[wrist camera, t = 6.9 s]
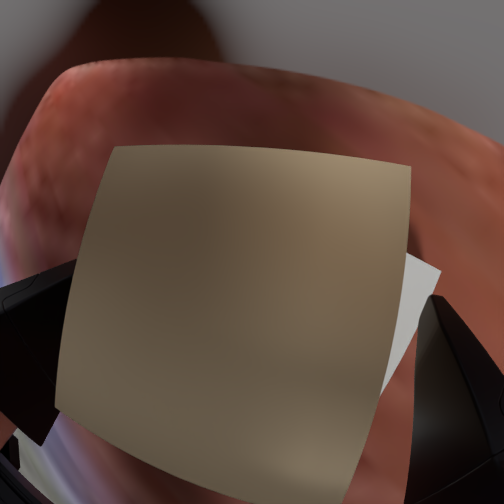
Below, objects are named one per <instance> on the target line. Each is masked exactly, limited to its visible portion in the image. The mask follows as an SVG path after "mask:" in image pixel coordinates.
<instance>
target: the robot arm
mask: <svg viewBox="0 0 504 504" xmlns="http://www.w3.org/2000/svg"><path fill="white" fill-rule="evenodd" d="M76 262H77V259H75V260H72V261H69V262H67V263H64V264H61V265H59V266H56V267H54V268H51V269H49V270H46V271H43V272H41V273H40V274H36V275H33V276H31V277H28V278H26V279H23V280H21V281H18V282H15V283H12V284H10V285H7V286H4V287H1V288H0V504H54V503H52V502H51V501H50V500H49V499H48V498H47V497H45V496H44V495H43V494H42V493H41V492H40V491H39V490H37V489H36V488H35V487H34V486H33V485H32V484H31V483H30V482H29V481H28V480H27V479H26V478H25V477H24V476H23V475H22V474H21V473H20V472H19V471H18V470H19V468H20V459H19V445H18V439H17V438H16V437H15V436H14V435H13V433H14V432H15V430H16V429H17V428H19V429H20V430H21V431H22V432H23V433H24V434H26V435H27V436H28V437H29V438H30V439H31V440H33V441H34V442H35V443H36V444H38V445H39V446H40V447H41V446H42V444H43V443H44V441H45V439H46V437H47V435H48V433H49V431H50V429H51V427H52V426H53V424H54V422H55V420H56V418H57V416H58V414H59V413H60V411H59V410H58V409H57V408H55V394H56V381H57V371H58V361H59V353H60V345H61V338H62V332H63V325H64V319H65V314H66V308H67V303H68V298H69V293H70V288H71V284H72V279H73V275H74V270H75V266H76ZM404 504H504V375H503V374H502V372H501V371H500V369H499V368H498V367H497V365H496V364H495V362H494V361H493V360H492V358H491V357H490V355H489V354H488V353H487V351H486V350H485V349H484V347H483V346H482V344H481V343H480V342H479V340H478V339H477V338H476V337H475V335H474V334H473V333H472V331H471V330H470V329H469V328H468V326H467V325H466V324H465V322H464V321H463V320H462V319H461V317H460V316H459V315H458V314H457V313H456V311H455V310H454V309H453V308H452V306H451V305H450V304H449V303H448V302H447V300H446V299H445V298H444V297H443V296H439V295H433V294H431V295H429V296H428V298H427V300H426V303H425V305H424V307H423V310H422V312H421V315H420V317H419V322H418V336H417V349H416V360H415V374H414V416H413V432H412V445H411V455H410V464H409V473H408V480H407V487H406V493H405V499H404Z"/></svg>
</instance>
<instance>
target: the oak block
mask: <svg viewBox="0 0 504 504" xmlns="http://www.w3.org/2000/svg"><path fill="white" fill-rule="evenodd" d="M410 194H411V167H410V166H405V165H400V164H394V163H388V162H382V161H376V160H370V159H363V158H356V157H349V156H342V155H334V154H326V153H317V152H308V151H298V150H286V149H274V148H260V147H243V146H219V145H138V146H115V147H114V149H113V151H112V154H111V156H110V159H109V161H108V164H107V166H106V169H105V172H104V174H103V177H102V180H101V183H100V186H99V188H98V191H97V194H96V197H95V200H94V203H93V206H92V209H91V212H90V216H89V219H88V222H87V225H86V229H85V232H84V236H83V239H82V243H81V247H80V250H79V254H78V258H77V262H76V266H75V270H74V275H73V279H72V284H71V288H70V293H69V298H68V303H67V308H66V314H65V319H64V325H63V332H62V338H61V345H60V353H59V361H58V371H57V381H56V394H55V408H57V409H58V410H59V411H61V412H62V413H64V414H65V415H66V416H68V417H69V418H71V419H72V420H74V421H75V422H77V423H78V424H80V425H81V426H83V427H84V428H86V429H87V430H89V431H91V432H92V433H94V434H95V435H97V436H99V437H100V438H102V439H104V440H105V441H107V442H109V443H110V444H112V445H114V446H116V447H117V448H119V449H121V450H123V451H125V452H127V453H128V454H130V455H132V456H134V457H136V458H138V459H140V460H142V461H144V462H146V463H148V464H150V465H152V466H154V467H156V468H158V469H161V470H163V471H165V472H167V473H169V474H172V475H174V476H176V477H179V478H181V479H184V480H186V481H188V482H191V483H193V484H196V485H199V486H201V487H204V488H207V489H209V490H212V491H215V492H218V493H221V494H224V495H227V496H230V497H233V498H236V499H240V500H243V501H246V502H250V503H254V504H341V503H342V501H343V498H344V496H345V494H346V492H347V489H348V487H349V484H350V482H351V480H352V477H353V475H354V472H355V469H356V467H357V464H358V462H359V459H360V456H361V453H362V451H363V448H364V445H365V442H366V439H367V436H368V433H369V430H370V427H371V424H372V421H373V417H374V414H375V411H376V407H377V404H378V400H379V397H380V393H381V389H382V386H383V382H384V378H385V374H386V370H387V366H388V361H389V357H390V352H391V348H392V343H393V338H394V333H395V328H396V323H397V317H398V311H399V305H400V299H401V292H402V285H403V278H404V270H405V262H406V252H407V242H408V230H409V215H410Z"/></svg>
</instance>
